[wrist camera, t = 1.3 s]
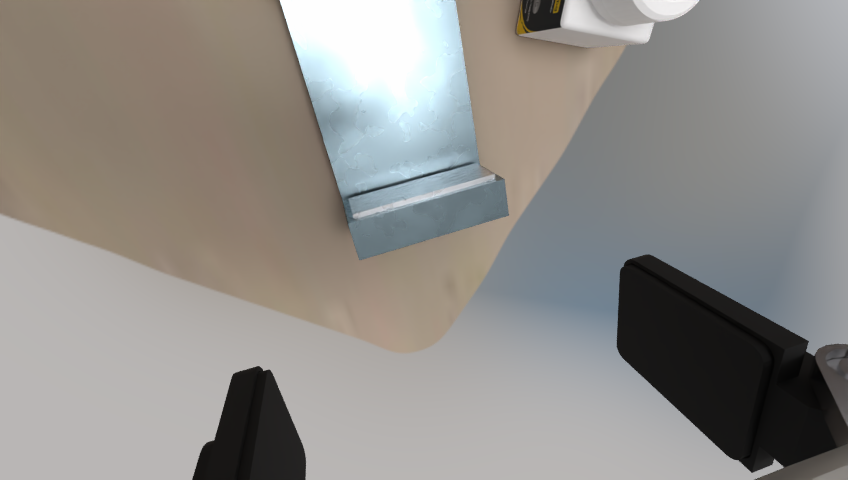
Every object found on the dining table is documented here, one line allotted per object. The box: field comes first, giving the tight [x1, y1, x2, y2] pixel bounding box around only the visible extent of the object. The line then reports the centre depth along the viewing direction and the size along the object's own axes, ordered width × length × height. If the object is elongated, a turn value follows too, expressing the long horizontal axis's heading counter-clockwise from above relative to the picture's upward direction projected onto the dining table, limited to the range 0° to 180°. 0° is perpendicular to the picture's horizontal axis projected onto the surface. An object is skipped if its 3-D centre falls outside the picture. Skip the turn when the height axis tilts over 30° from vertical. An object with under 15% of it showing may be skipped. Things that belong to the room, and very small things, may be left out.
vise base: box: [280, 0, 509, 260], centre depth 28 cm, size 25×12×6 cm, turn 12°
